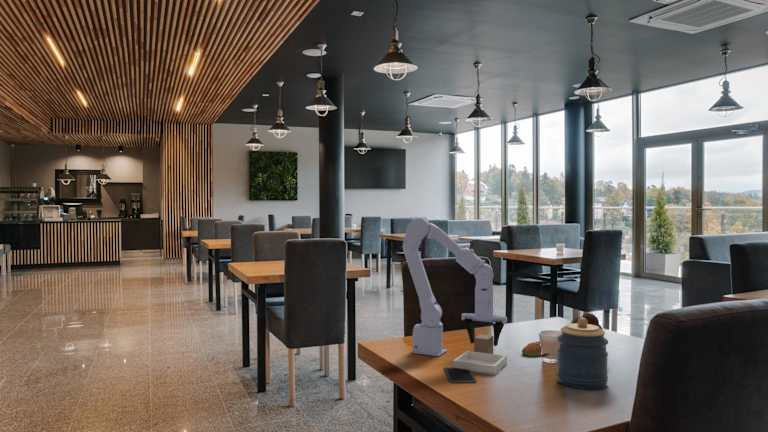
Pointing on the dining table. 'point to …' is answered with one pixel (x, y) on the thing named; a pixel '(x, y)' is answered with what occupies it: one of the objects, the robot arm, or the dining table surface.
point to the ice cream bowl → (589, 320)
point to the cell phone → (459, 375)
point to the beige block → (483, 344)
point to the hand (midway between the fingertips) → (484, 344)
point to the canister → (582, 356)
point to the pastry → (532, 349)
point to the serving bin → (480, 362)
